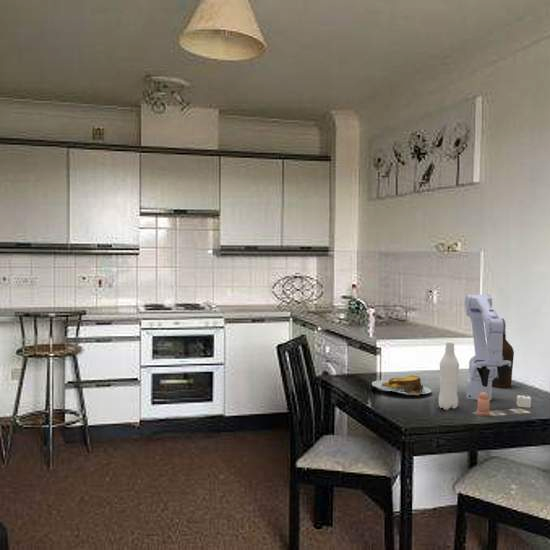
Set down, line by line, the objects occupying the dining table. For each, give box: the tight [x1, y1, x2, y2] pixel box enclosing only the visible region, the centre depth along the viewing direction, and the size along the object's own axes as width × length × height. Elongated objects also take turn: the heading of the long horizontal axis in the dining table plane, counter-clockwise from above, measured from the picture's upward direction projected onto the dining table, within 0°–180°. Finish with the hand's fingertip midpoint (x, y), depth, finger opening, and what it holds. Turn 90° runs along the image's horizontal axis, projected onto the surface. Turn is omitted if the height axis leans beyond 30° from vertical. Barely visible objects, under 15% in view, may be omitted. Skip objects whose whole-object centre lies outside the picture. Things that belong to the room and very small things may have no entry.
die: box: [516, 395, 532, 408], centre depth 235 cm, size 4×4×5 cm
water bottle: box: [438, 342, 460, 411], centre depth 231 cm, size 7×7×25 cm
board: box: [472, 407, 532, 418], centre depth 224 cm, size 22×7×1 cm, turn 110°
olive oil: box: [492, 330, 515, 389], centre depth 274 cm, size 11×11×25 cm
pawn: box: [476, 392, 491, 417], centre depth 221 cm, size 5×5×8 cm
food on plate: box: [371, 375, 433, 396], centre depth 259 cm, size 25×25×7 cm
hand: (493, 385), depth 231 cm, fingers open, 7 cm apart
